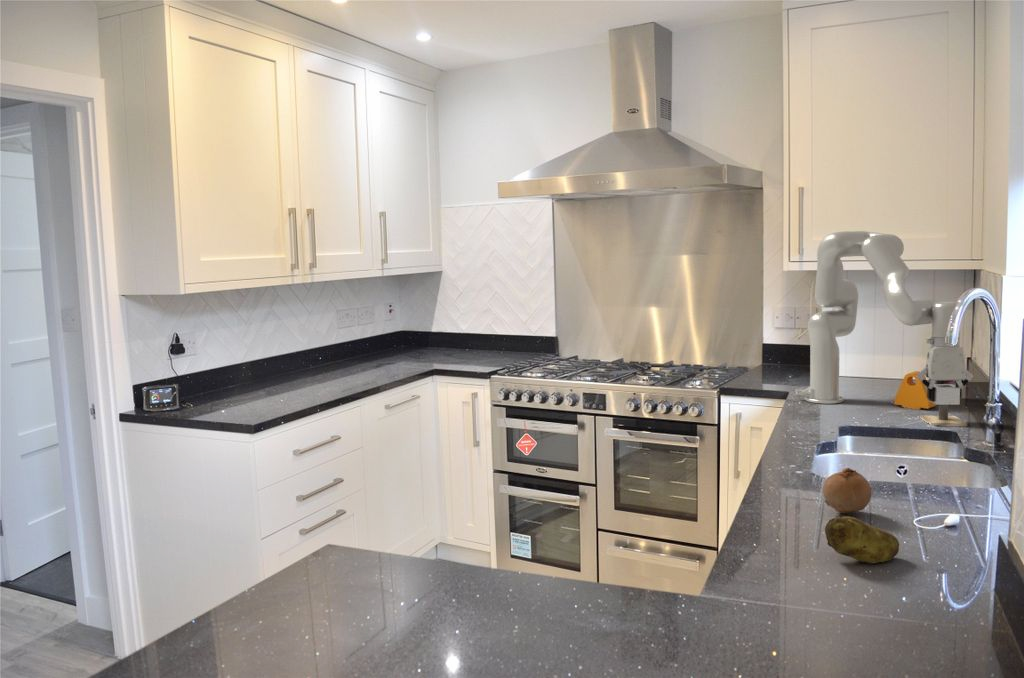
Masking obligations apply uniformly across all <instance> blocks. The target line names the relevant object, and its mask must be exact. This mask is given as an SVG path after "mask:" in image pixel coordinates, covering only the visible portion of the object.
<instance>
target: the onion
mask: <svg viewBox="0 0 1024 678" xmlns="http://www.w3.org/2000/svg"><path fill="white" fill-rule="evenodd" d="M822 494H823V497H824V499H825V500H824V502H825V504H826V505H827V506H828V507H830V508H833V510H835V512H838V513H840V514H846V513H847V514H853V513H854V514H855V513H857V512H859V511H863V510H864V509H865V508H866V507H867V506H868V505H869V503H870V502H871V498H872V495H873V494H872V488H871V484H870V483H869V481H868V480H867V479H866V477H864V476H863V475H862V474H861V473H859V472H858V471H857V470H855V469H851V468H850V467H846V468H844V469H842V470H841V471H839V472H836V473H833V474H831V475H830V476H828V477H827V479H826V481H825V482H824V484H823V488H822Z"/></svg>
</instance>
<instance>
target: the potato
mask: <svg viewBox="0 0 1024 678" xmlns="http://www.w3.org/2000/svg"><path fill="white" fill-rule="evenodd" d="M824 534H825V538H826V540H827V542H826V544H827V545H828V547H831V548H832V549H833V550H834V551H835V552H836V553H838V554H839V555H841V556H846V557H849V558H852V559H854V560H855V559H856V560H855V561H857V560H859V561H858V562H860V561H863V562H862V563H864V562H869V563H868V564H874V563H873V562H882V563H885V561H886V562H888V561H891V560H892V559H893V558H895V557H896V556H897V555H898V553H899V551H900V541H899V540H898V538H897V537H896V536H895V535H893V534H892V533H890V532H888V531H887V530H884V529H881V528H879V527H878V528H877V527H875V526H872V525H871V524H868V523H866V522H864V521H862V520H861V519H858V518H856V517H852V516H847V515H846V516H845V515H841V516H837V517H834V518H831V519H829V520H828V522H827V523H826V524H825V528H824ZM870 562H871V563H870Z"/></svg>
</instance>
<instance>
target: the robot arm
mask: <svg viewBox="0 0 1024 678" xmlns="http://www.w3.org/2000/svg"><path fill="white" fill-rule="evenodd" d="M904 251H905V246H904V242H903V241H902V239H901V238H900V237H899V236H897V235H896V234H890V233H880V232H876V231H875V232H873V231H866V230H862V231H861V230H855V231H854V230H853V231H850V230H849V231H837V232H833V233H830V234H828V235H826V236H825V237H823V238H822V239H821V241H820V242H819V243H818V246H817V250H816V252H817V253H816V257H817V258H816V261H817V263H816V264H817V265H816V266H817V267H816V276H815V277H816V278H815V287H814V289H815V290H814V302H815V303H816V305H818V306H819V307H821V308H829V309H830V308H832V310H824V311H818V312H816V313H814V314H812V315H811V316H810V317H809V319H808V322H807V333H808V337H809V345H810V346H809V347H810V349H809V351H810V352H809V353H810V355H809V358H810V362H809V363H810V364H809V369H810V370H809V375H810V376H809V386H807V388H805V389H802V388H800V389H798V388H797V389H795V395H797V396H799V395H800V396H805V397H804V398H805V399H804V400H805V401H807V402H809V403H813V404H822V405H826V404H827V405H830V404H840V403H843V402H844V400H845V399H844V397H843V396H841V395H840V347H839V344H838V341H837V339H836V338H840V337H845V336H848V335H850V334H851V333H852V332H853V331H854V329H855V327H856V325H857V324H856V322H857V315H858V304H859V291H858V287H857V286H856V284H855V283H854V282H853V281H851V280H850V279H846V278H845V279H843V277H844V264H843V262H842V261H843V260H841V258H844V257H845V258H846V257H864V258H865V259H866V261H867V262H868V264H869V265H870V267H871V268H872V269H873V271H874V272H875V273H876V274H877V276H878V278H879V279H880V280H881V283H883V293H884V298H885V299H884V300H885V301H886V304H887V306H888V308H889V309H890V310H891V313H893V315H894V316H895V318H897V319H898V321H899V322H901V324H903V325H905V326H909V327H913V326H921V325H922V326H923V325H931V336H930V338H927V339H926V344H929V345H930V346H928V350H927V355H926V361H925V367H924V368H923V369H922V370H921V371H919V372H920V373H918V374H917V375H916V377H917V378H918V379H919V380H920V381H921V382H922V383H923V384H924V385H925V387H926V390H927V398H929V400H930V401H931V402H934V391H935V390H934V389H933V386H934V384H935V382H936V381H954V383H955V385H956V386H957V387H959V388H960V399H962V397H963V395H962V393H963V391H962V389H963V388H964V387H965V386H966V385H967V384H968V383H969V382H970V381H971V380H973V378H974V375H973V373H971V372H970V371H969V370H968V369H967V368H966V360H965V353H964V352H965V351H964V347H962V346H960V345H961V344H960V342H961V331H960V332H959V337H958V342H957V344H956V345H954V346H950V345H947V344H946V343H945V337H946V332H947V327H948V323H949V319H950V316H951V314H952V312H953V310H954V308H955V306H956V304H957V303H958V302H957V301H956V302H955V301H938V300H932V299H919V300H913V299H912V298H911V296H910V295H909V293H908V291H907V290H906V288H905V285H904V280H905V278H906V277H908V275H909V273H910V268H909V267H908V266H907V264H906V263H905V262H904V260H903V259H902V257H901V256H902V255H903V253H904ZM924 375H925V377H926V378H927V379H928V380H927V379H926V380H925V378H924Z"/></svg>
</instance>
